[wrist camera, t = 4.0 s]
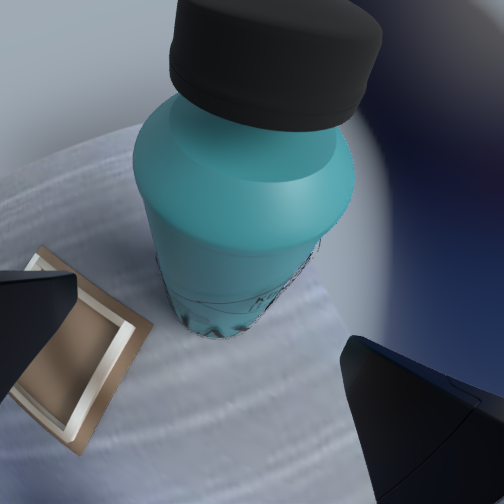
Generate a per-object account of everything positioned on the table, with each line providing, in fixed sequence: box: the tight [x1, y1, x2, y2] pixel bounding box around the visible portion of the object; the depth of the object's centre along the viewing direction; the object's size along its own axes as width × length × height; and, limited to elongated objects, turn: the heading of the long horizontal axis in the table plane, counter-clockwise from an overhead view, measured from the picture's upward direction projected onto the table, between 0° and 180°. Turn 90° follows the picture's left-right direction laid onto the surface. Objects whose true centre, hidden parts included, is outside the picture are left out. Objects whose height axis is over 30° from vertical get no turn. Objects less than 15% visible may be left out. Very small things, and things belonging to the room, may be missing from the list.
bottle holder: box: [8, 245, 153, 456], centre depth 17 cm, size 12×12×2 cm
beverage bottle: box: [133, 0, 382, 340], centre depth 13 cm, size 6×7×20 cm
